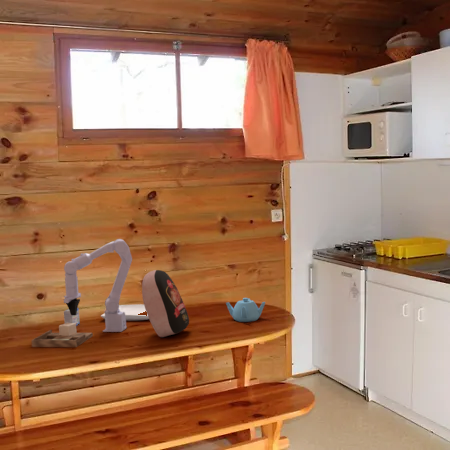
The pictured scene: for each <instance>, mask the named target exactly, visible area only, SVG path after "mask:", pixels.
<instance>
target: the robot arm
mask: <svg viewBox="0 0 450 450" xmlns="http://www.w3.org/2000/svg"><path fill="white" fill-rule="evenodd" d="M107 253H116V254H118V255H119V257H120V259H121V261H120V264H119V267H118V269H117V273H116V276H115V279H114V282H113V285H112V288H111V291H110V292H109V294H108V296H107V298H106V299H105V300H104V305H105V306H104V307H105V309H106V310H104V313H105V319H104V323H105V328H104V329H103V330H102V332H104V333H107V332H108V333H109V332H111V333H114V332H115V333H117V332H118V333H120V332H121V333H122V332H123V331H125V330H126V329H127V320H126V315H125V313H124V312H120V309H119V305H120V299H121V296H122V295H121V294H122V291H123V288H124V286H125V282H126V280H127V277H128V274H129V270H130V268H131V265H132V262H133V256H132V253H131V250H130V247H129V245H128V244H127V242H126V241H125V240H124V239H122V238H117V239H115V240H113V241H111V242H107V243H106V244H104V245H102V246H101V247H99V248H97V249H95V250H93V251H92V252H90V253H87V252H85V253H80V255H79V256H77V257H75V258H71V261H70V260H69V261H67V262H66V263H65V264H64V267H63V270H64V283H65V285H64V287H65V295H63V298H64V299H63V303H64V304H66V306H67V307H68V309H69V310H70V314H71V315H76V313H77V308H79V304H80V302H81V299H80V298H81V297H82V292H79V283H78V282H79V281H78V276H77V275H78V274H77V271H78V270H79V271H81V270H83V269H84V268H85V267H88V266H89V265H91V264H92V263H93V260H94V259H97V258H99V257H101V256H102V255H105V254H107Z"/></svg>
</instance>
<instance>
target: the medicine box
mask: <svg viewBox="0 0 450 450" xmlns="http://www.w3.org/2000/svg"><path fill="white" fill-rule="evenodd" d="M63 320H64V324H65V323H76V327H77V326H79V325H80V309H79V307H78V308H77V313H76V315H71V314H70V310H69V308H68V309H66V310H63ZM78 324H79V325H78Z"/></svg>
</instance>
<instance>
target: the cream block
mask: <svg viewBox="0 0 450 450" xmlns="http://www.w3.org/2000/svg"><path fill="white" fill-rule="evenodd" d="M58 331H59V332H58V333H59V335H64V336H70V335H73V334H75V333H78V332H77V326H76V323H65V322H64V323H63V324H60V325H58Z"/></svg>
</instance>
